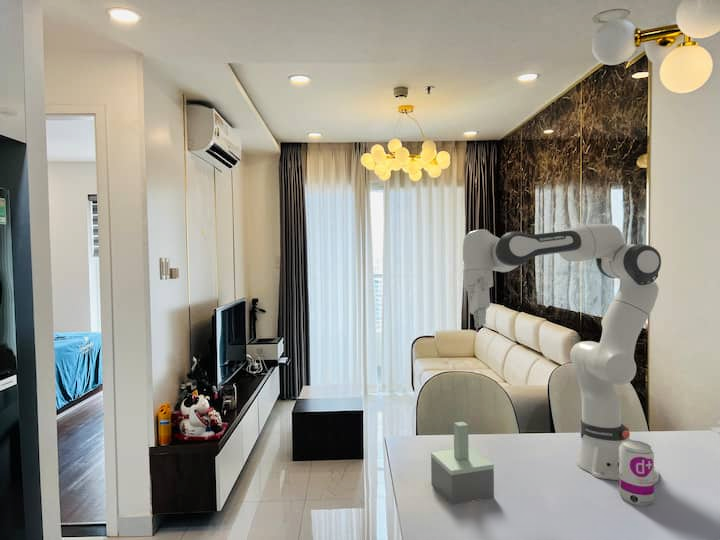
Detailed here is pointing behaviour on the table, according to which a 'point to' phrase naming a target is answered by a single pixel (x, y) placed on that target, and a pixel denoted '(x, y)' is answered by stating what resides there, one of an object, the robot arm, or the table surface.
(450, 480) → the tub
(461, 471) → the lid
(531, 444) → the table surface
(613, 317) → the robot arm
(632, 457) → the supplement can
